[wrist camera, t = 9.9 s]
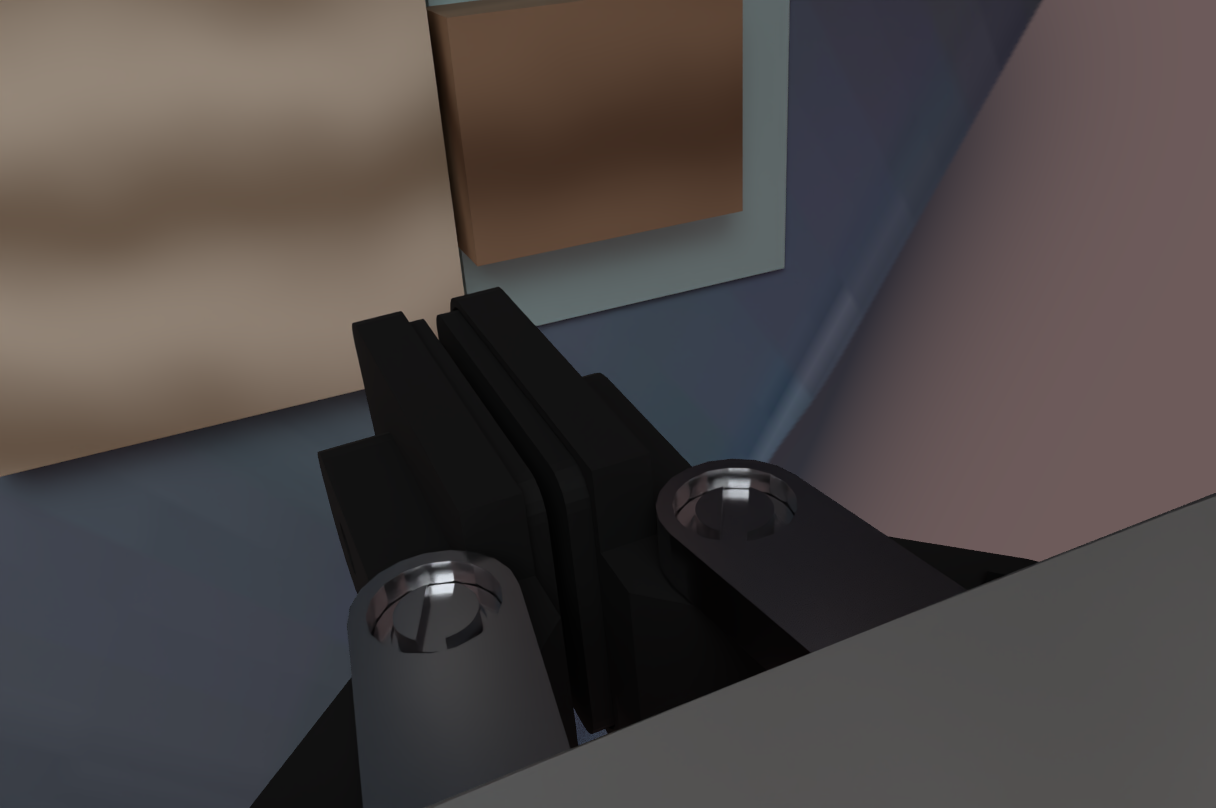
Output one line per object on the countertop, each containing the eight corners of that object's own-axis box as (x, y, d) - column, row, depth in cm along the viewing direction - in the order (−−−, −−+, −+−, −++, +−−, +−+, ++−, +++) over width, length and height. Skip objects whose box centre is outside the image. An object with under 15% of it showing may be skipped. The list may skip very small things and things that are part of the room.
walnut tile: (421, 7, 30) (446, 17, 28) (701, -28, 33) (742, -20, 31) (453, 241, 34) (477, 266, 32) (705, 191, 37) (742, 211, 35)
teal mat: (406, -132, 29) (410, -132, 29) (785, -162, 33) (792, -162, 33) (469, 336, 36) (473, 340, 35) (778, 264, 40) (784, 268, 39)
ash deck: (-217, -83, 24) (-237, -79, 23) (389, -131, 29) (407, -130, 27) (-10, 447, 31) (-15, 480, 29) (455, 339, 36) (473, 362, 34)
